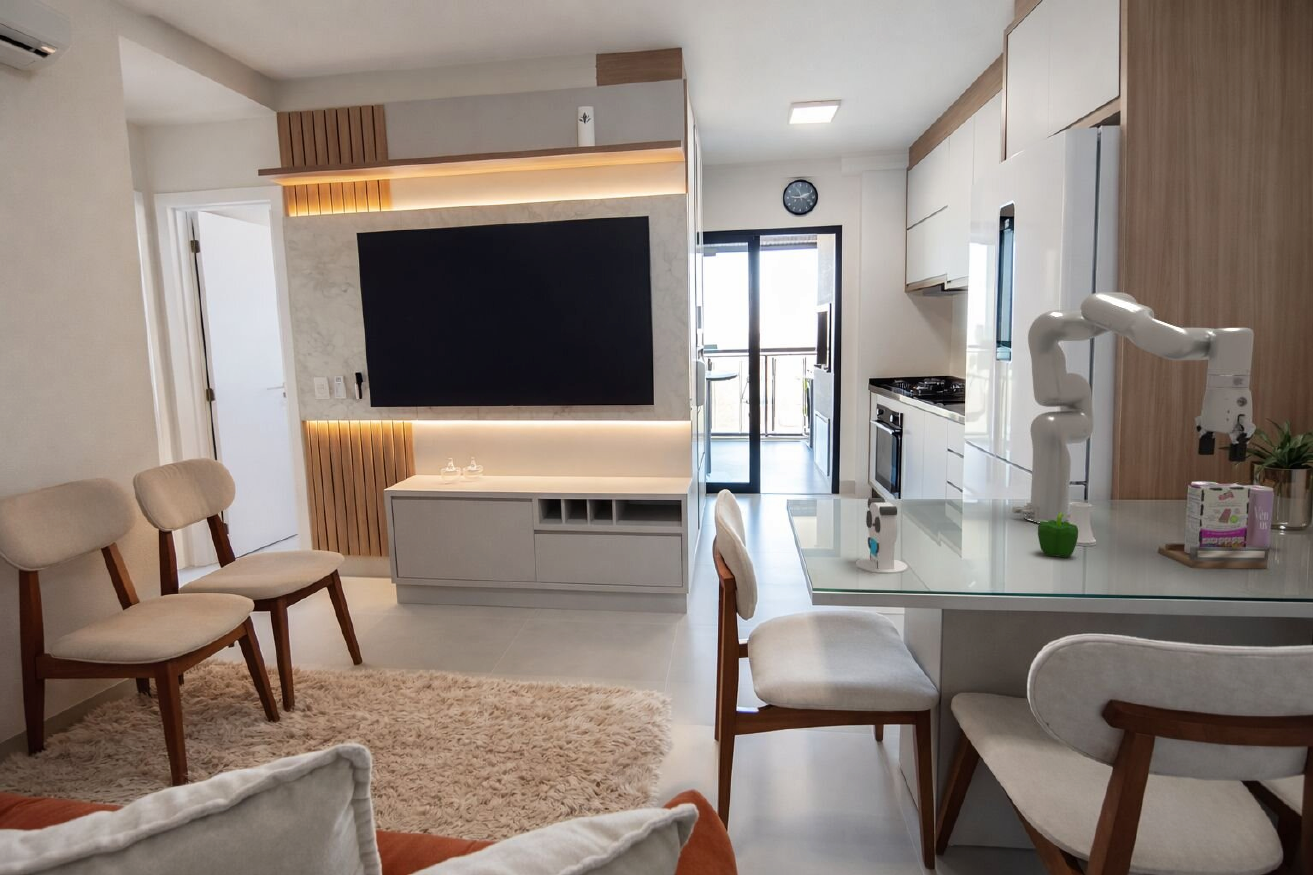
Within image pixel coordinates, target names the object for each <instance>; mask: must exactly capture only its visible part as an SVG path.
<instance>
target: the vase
mask: <svg viewBox="0 0 1313 875" xmlns="http://www.w3.org/2000/svg"><path fill="white" fill-rule="evenodd" d="M1092 506H1093V505H1092V504H1091V503H1088V502H1081V501H1080V502H1077V501H1075V502H1073V501H1072V502H1070V503H1069V509H1070V510H1069V512H1070V513H1069V516H1070V520H1069V523H1070V524H1072V525H1076V526H1077V528H1078V539H1077V542H1076V546H1082V547H1083V546H1084V547H1085V546H1086V547H1090V546H1096V541H1097V540H1096V539H1095V538H1094V535H1093V531H1092V527H1091V510H1092Z"/></svg>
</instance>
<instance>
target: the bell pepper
mask: <svg viewBox="0 0 1313 875" xmlns="http://www.w3.org/2000/svg"><path fill="white" fill-rule="evenodd" d="M1063 516H1064V514H1063V513H1059V514H1058V517H1057V521H1055V520H1050V521H1047V522H1046V521H1045V522H1040V524H1039V523H1038V525H1037V535H1038V536H1037V537H1038V542H1039V547H1040V549H1041V551H1042V553H1043V554H1044V555H1046V556H1050V557H1051V556H1052V557H1060V558H1069V557H1071V555H1072V554H1073V553H1074V551H1075V548H1076V546H1077V545H1076V542H1077V539H1078V528H1077V526H1076V525H1072V524H1070V523H1069V522H1067V521H1064V522H1061V520H1062V517H1063Z"/></svg>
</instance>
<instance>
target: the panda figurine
mask: <svg viewBox="0 0 1313 875" xmlns="http://www.w3.org/2000/svg"><path fill="white" fill-rule="evenodd" d="M867 507H868V508H867V509H868V510H867V511H866V517H865V518H866V520H865V523H866V524H865V525H866V527H867V529H868V534H869V537H867V545H868V548H869V557H864V558H860V559H858V560H857V561H856V562H855V563H856V564H855V565H856V566H857V567H858V569H861V570H862V571H867V572H869V573H870V572H871V573H876V574H884V575H885V574H886V575H887V574H888V575H890V574H900V573H904V572H906V571H907V570H908V567H909V566H908V565H907V563H905V562H903V561H901V560H898V559H895V544H896V541H897V537H898V507H897V506H895V505H893V504H892V503H891V502H886V499H885V498H884V497H877V498H876V497H871V498H870V497H869V498H868V499H867Z"/></svg>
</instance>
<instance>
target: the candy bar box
mask: <svg viewBox="0 0 1313 875" xmlns="http://www.w3.org/2000/svg"><path fill="white" fill-rule="evenodd" d="M1249 495H1250V487H1247V486H1246V485H1243V484H1238V483H1218V484H1204V485H1191V484H1188V485H1187V495H1186V508H1185V511H1186V512H1185V513H1186V514H1185V524H1184V526H1185V528H1184V529H1185V530H1184V541H1183V543H1184V552H1185V553H1187V554H1189V555H1190V547H1246V537H1247V521H1248V509H1249Z"/></svg>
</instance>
